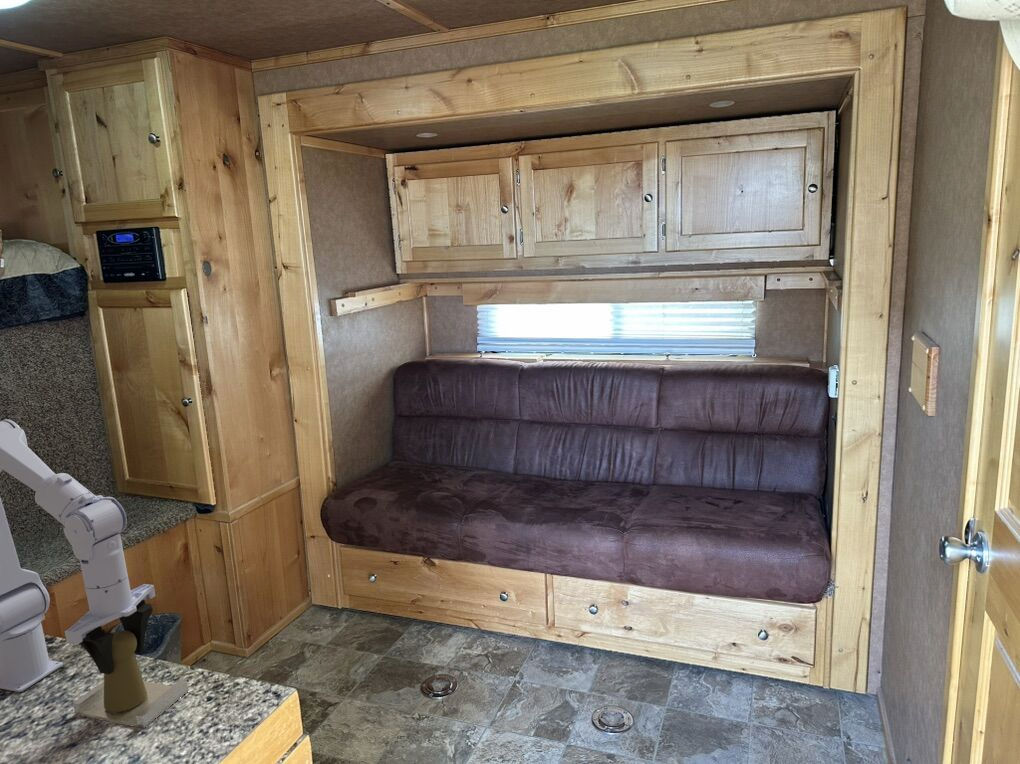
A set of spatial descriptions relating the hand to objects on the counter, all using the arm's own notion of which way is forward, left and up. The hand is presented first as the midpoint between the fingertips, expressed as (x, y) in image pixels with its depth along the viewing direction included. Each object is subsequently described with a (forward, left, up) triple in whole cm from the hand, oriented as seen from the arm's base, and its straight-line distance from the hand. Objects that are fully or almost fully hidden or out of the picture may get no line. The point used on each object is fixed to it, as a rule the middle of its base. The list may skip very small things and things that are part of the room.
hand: (122, 661), depth 111 cm
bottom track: (0, +1, -8) cm, 8 cm away
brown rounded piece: (-1, 0, -7) cm, 7 cm away
